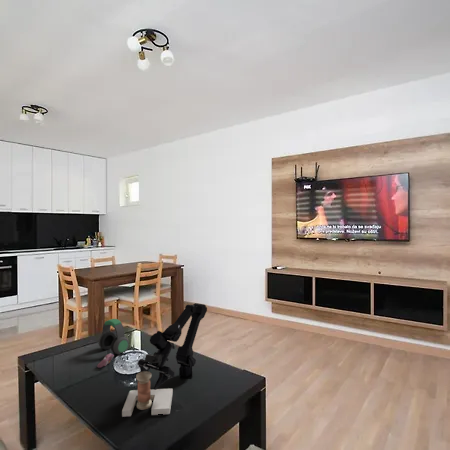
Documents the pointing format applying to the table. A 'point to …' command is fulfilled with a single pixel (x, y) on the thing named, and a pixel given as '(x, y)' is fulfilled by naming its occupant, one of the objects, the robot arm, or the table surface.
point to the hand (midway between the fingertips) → (146, 386)
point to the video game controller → (105, 360)
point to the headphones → (113, 337)
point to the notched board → (159, 396)
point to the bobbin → (144, 390)
